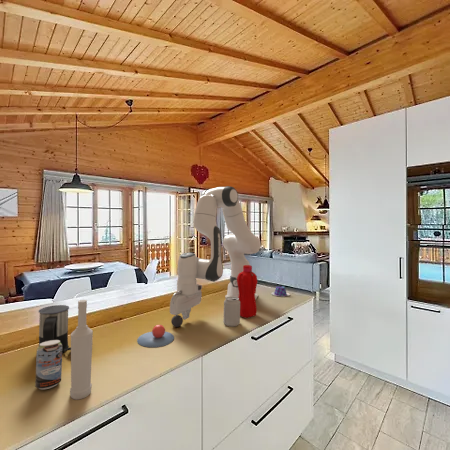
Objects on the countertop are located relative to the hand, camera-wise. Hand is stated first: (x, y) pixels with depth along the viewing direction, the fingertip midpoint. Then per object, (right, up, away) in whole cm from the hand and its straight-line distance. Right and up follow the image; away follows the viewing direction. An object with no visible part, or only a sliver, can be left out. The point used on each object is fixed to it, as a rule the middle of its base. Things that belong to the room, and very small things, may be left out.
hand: (185, 318), depth 123 cm
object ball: (-8, +1, -17) cm, 19 cm away
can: (+21, -3, -1) cm, 21 cm away
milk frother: (-38, -2, -29) cm, 48 cm away
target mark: (-9, -2, -18) cm, 20 cm away
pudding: (+54, -3, +51) cm, 74 cm away
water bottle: (+29, -3, +11) cm, 31 cm away
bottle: (-21, -2, -51) cm, 55 cm away
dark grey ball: (-3, +1, -5) cm, 6 cm away
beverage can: (-31, -2, -48) cm, 57 cm away
